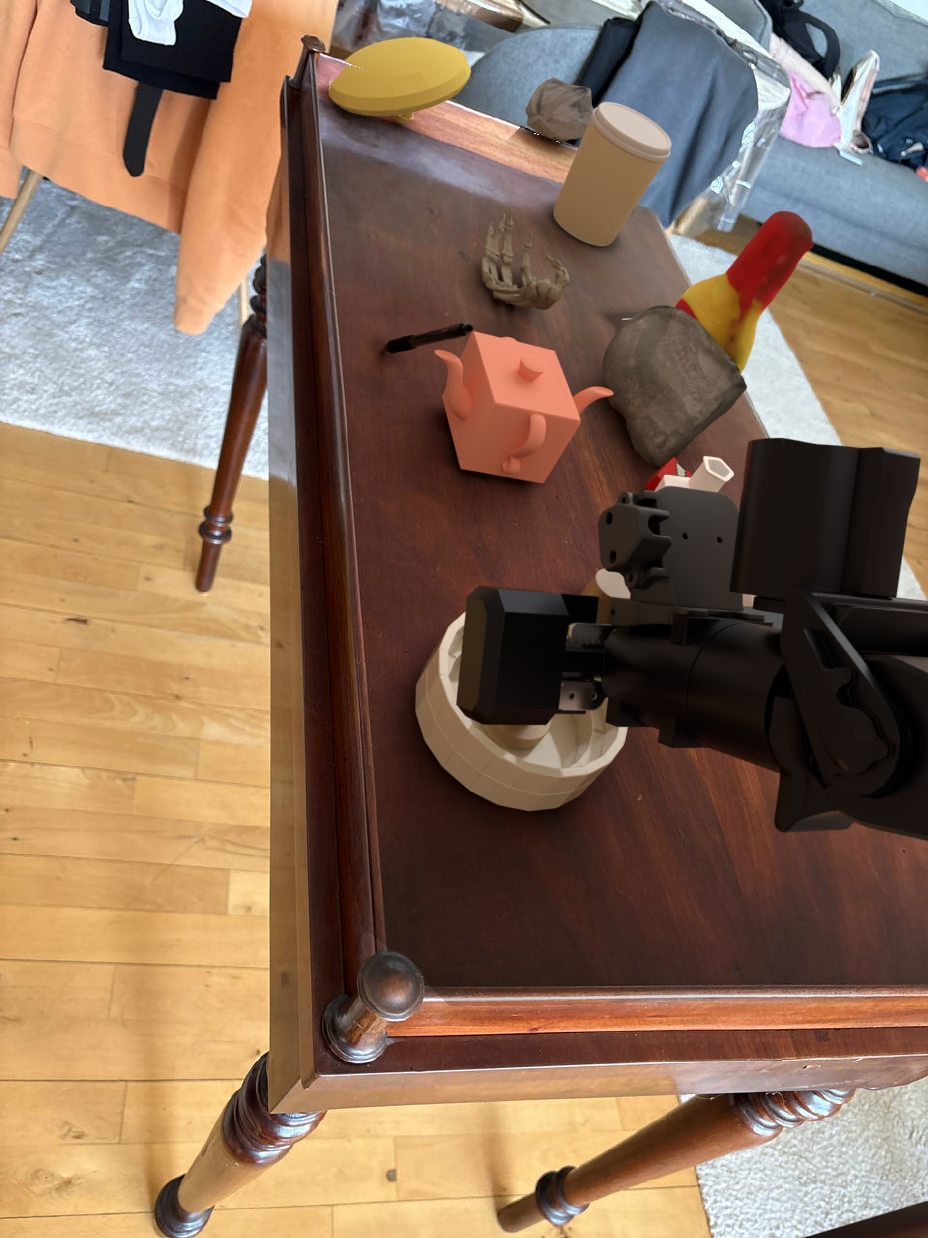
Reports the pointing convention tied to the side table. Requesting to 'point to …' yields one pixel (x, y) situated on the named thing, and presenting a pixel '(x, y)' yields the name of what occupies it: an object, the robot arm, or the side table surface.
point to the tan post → (605, 588)
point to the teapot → (511, 407)
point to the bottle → (748, 284)
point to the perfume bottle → (702, 476)
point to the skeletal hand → (532, 291)
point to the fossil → (560, 110)
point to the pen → (427, 338)
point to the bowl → (498, 771)
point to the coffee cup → (610, 173)
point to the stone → (668, 381)
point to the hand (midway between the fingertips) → (552, 637)
